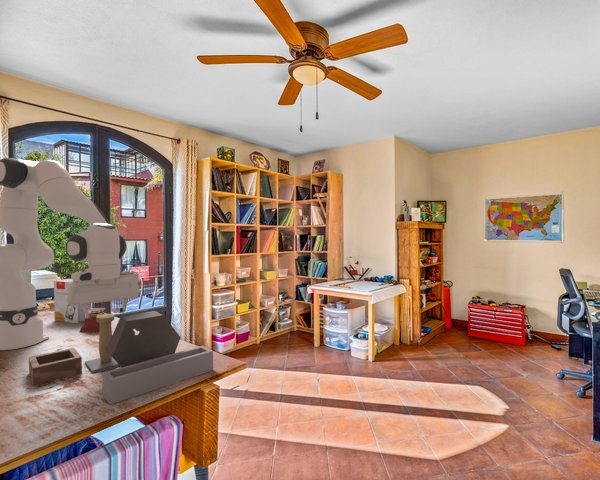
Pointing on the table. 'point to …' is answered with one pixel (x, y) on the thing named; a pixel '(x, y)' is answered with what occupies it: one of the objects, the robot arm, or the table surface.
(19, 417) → the table surface
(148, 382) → the tray
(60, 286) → the hard drive box
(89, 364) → the mat
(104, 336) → the handle
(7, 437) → the table surface
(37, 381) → the block
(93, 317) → the red drawstring pouch
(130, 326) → the planter
